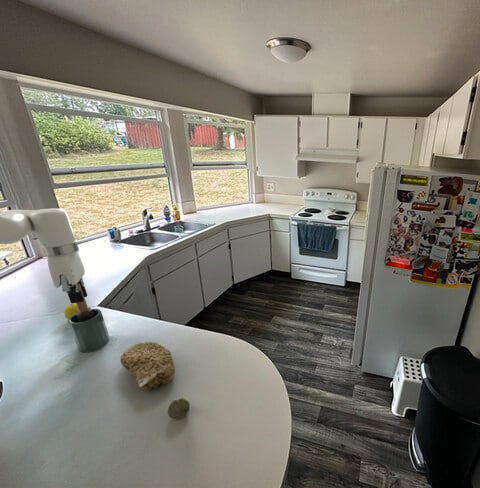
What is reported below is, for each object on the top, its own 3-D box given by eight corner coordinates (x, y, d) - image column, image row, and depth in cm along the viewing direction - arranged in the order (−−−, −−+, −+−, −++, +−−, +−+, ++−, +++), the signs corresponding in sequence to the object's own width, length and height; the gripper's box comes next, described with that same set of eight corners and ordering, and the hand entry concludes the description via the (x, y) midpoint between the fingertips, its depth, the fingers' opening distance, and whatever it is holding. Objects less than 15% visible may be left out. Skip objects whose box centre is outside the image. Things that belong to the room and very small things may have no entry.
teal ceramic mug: (74, 355, 84) (63, 326, 80) (83, 339, 91) (73, 312, 87) (106, 347, 88) (96, 319, 84) (112, 333, 95) (103, 306, 91)
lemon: (64, 324, 99) (57, 307, 96) (79, 315, 104) (73, 299, 101) (75, 326, 98) (69, 308, 95) (90, 317, 103) (84, 301, 101)
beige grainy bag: (182, 380, 78) (167, 336, 91) (173, 367, 74) (159, 322, 86) (132, 409, 71) (124, 357, 84) (120, 397, 67) (113, 344, 79)
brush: (79, 330, 85) (64, 289, 79) (83, 323, 88) (69, 283, 82) (94, 327, 86) (80, 286, 81) (98, 320, 90) (84, 281, 84)
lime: (193, 409, 68) (190, 396, 67) (177, 425, 64) (173, 412, 63) (182, 402, 70) (179, 389, 68) (165, 418, 66) (162, 404, 64)
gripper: (56, 242, 82) (74, 290, 89) (30, 260, 69) (53, 316, 75) (86, 239, 86) (101, 286, 92) (67, 256, 72) (86, 309, 79)
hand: (79, 299), depth 84 cm, fingers closed on brush, 2 cm apart
